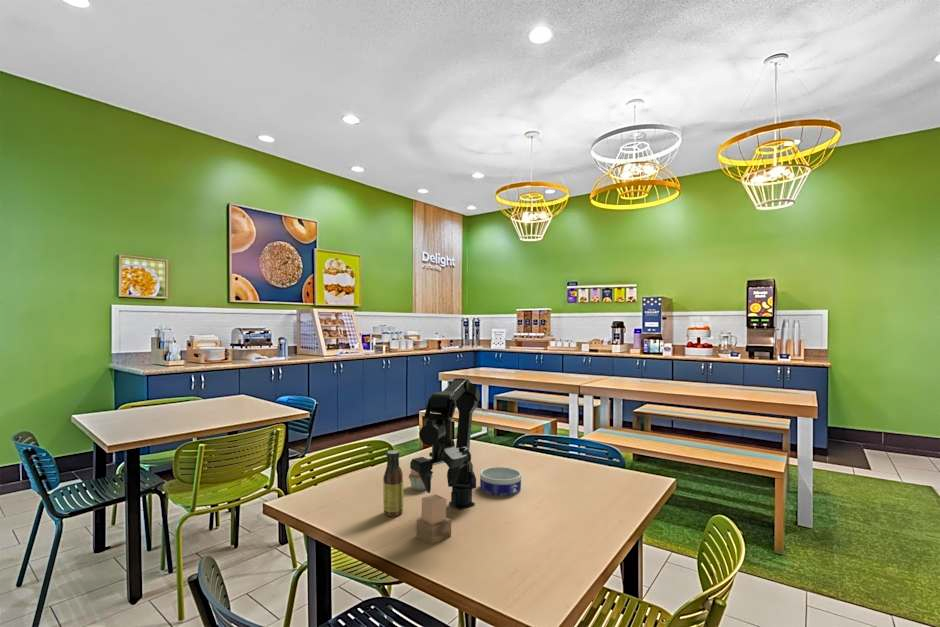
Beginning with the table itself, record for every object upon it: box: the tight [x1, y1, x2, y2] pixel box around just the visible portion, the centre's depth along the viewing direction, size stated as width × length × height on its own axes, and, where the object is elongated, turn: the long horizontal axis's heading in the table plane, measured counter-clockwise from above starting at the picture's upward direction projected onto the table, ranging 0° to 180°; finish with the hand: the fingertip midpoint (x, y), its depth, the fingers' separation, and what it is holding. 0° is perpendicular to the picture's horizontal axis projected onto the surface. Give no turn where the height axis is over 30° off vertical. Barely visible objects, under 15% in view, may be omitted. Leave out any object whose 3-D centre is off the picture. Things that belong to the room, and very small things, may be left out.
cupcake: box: [407, 469, 434, 491], centre depth 171 cm, size 9×9×10 cm
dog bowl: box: [479, 466, 522, 497], centre depth 171 cm, size 15×15×6 cm
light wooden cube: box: [421, 493, 447, 525], centre depth 132 cm, size 5×5×6 cm
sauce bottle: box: [382, 449, 404, 517], centre depth 148 cm, size 7×6×20 cm
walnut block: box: [416, 516, 452, 545], centre depth 132 cm, size 7×7×5 cm
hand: (441, 488), depth 136 cm, fingers open, 9 cm apart
